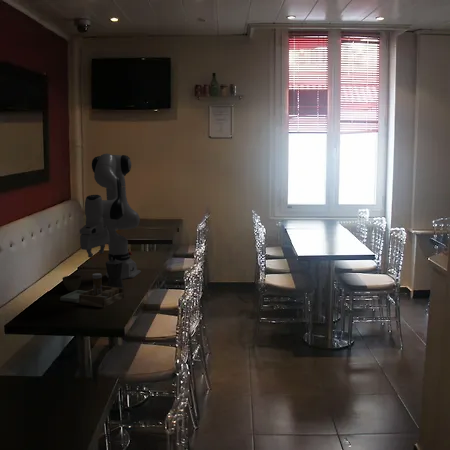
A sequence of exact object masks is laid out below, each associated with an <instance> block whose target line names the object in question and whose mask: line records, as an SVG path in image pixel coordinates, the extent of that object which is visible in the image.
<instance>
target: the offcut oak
mask: <svg viewBox="0 0 450 450" xmlns="http://www.w3.org/2000/svg"><path fill="white" fill-rule="evenodd" d="M110 291H112V293H113V296H114V295H116V294H118V293H119V289H117V288H112V289H110Z"/></svg>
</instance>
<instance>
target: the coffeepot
mask: <svg viewBox="0 0 450 450" xmlns="http://www.w3.org/2000/svg"><path fill="white" fill-rule="evenodd" d="M115 258H116V257H113V259H110V261H109V260H108V261H106V262H105V267H106V273H108V275H109V278H107V286H108V287H118V288H123V289H124V288H125V287H124V283H123V279H122V277H121V273H122V265H123V261H119V260H115Z"/></svg>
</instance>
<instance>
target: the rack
mask: <svg viewBox="0 0 450 450" xmlns="http://www.w3.org/2000/svg"><path fill="white" fill-rule="evenodd" d="M112 288H117V289H119V293H118V294H116V295H114V296H112V297H110V298H108V299H106V300H105V297H100V296H101V295H102V293H101V294H99V295H97V296H94V294H93V288H92V289H89V290H86V291H87V292H84V293H82V294H80V295H79V302H78V303H79V306H80V305H81V306H88V307H94V308H95V307H96V308H103V309H104V308H107V307H108V306H110V305H112V304H114V303H115V302H118V301H120V300H121V299H122V300H123V298H124V295H125V294H124V288H118V287H108V286H105V285H102V292H103V291H105V290H110V289H112Z"/></svg>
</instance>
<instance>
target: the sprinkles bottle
mask: <svg viewBox="0 0 450 450" xmlns="http://www.w3.org/2000/svg"><path fill="white" fill-rule="evenodd" d="M91 275H92V289H93V294H94V296H97V295H99V294H101V293H102V286H103V283H102V279H103V278H102V277H103V275H102V273H98V272H96V273H92V274H91Z"/></svg>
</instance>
